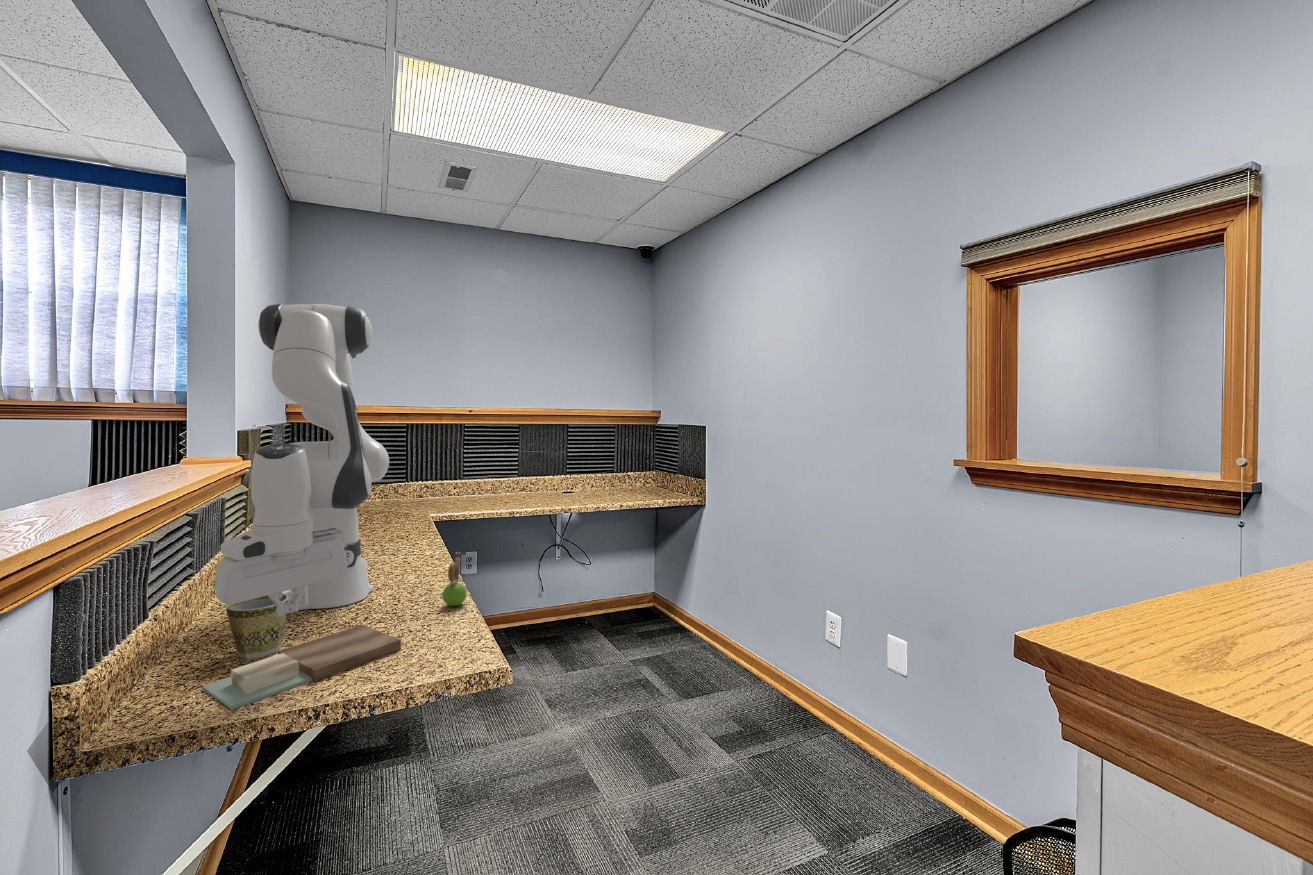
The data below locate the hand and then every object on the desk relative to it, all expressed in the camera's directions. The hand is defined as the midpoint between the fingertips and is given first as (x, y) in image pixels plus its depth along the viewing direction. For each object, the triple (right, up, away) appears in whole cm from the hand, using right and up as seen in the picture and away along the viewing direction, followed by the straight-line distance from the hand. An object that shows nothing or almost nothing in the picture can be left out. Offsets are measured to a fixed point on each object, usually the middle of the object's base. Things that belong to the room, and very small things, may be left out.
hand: (287, 613), depth 105 cm
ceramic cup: (-12, -10, +11) cm, 19 cm away
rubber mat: (-2, -11, -4) cm, 12 cm away
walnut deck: (+6, -10, +7) cm, 14 cm away
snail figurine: (+18, -9, +35) cm, 41 cm away
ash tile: (-2, -10, -3) cm, 11 cm away
